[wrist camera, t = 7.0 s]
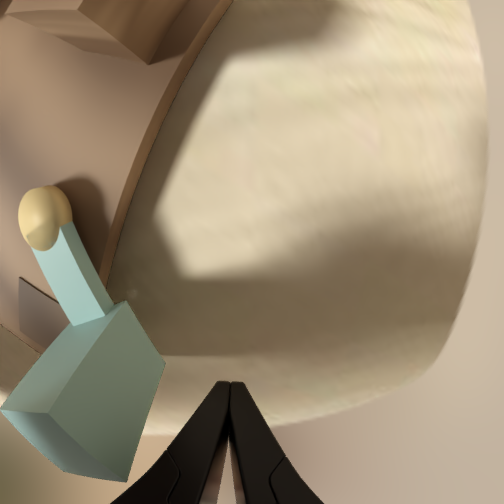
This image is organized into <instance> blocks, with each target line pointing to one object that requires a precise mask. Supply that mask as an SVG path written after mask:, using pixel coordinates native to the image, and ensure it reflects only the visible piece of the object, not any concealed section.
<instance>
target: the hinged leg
mask: <svg viewBox="0 0 504 504" xmlns="http://www.w3.org/2000/svg"><path fill="white" fill-rule="evenodd" d="M18 220H19V226H20V230H21V233H22V235H23V237H24V239H25V240H26V242H27V243H28V244H29V245H30V246H31V248H32V250H33V253H34V255H35V257H36V259H37V261H38V263H39V265H40V268H41V270H42V272H43V274H44V276H45V278H46V280H47V282H48V283H49V285H50V287H51V289H52V291H53V293H54V295H55V296H56V298H57V300H58V302H59V304H60V305H61V307H62V309H63V311H64V312H65V314H66V316H67V317H68V319H69V320H70V324H69V325H68V326H67V327H66V328H65V329H64V330H63V331H62V332H61V333H60V335H59V336H58V337H57V338H56V339H55V340H54V341H53V343H52V344H51V345H50V346H49V347H48V348H47V349H46V351H45V352H44V353H43V354H42V355H41V356H40V358H39V359H38V360H37V361H36V362H35V364H34V365H33V366H32V367H31V369H30V370H29V371H28V372H27V374H26V375H25V376H24V377H23V379H22V380H21V381H20V382H19V384H18V385H17V386H16V387H15V389H14V390H13V391H12V393H11V394H10V395H9V397H8V398H7V399H6V401H5V402H4V403H3V405H2V406H1V408H0V411H1V412H2V413H3V414H4V416H5V417H6V418H7V419H8V420H9V421H10V422H11V423H12V425H13V426H14V427H15V428H16V429H17V430H18V431H19V432H20V433H21V434H22V435H23V436H24V437H25V438H26V439H27V440H28V441H29V442H30V443H31V444H32V445H33V446H35V448H37V449H38V450H39V451H40V452H41V453H42V454H43V455H44V456H45V457H47V458H48V459H49V460H50V461H51V462H53V463H54V464H55V465H56V466H57V467H58V468H60V469H61V470H62V471H64V472H68V473H72V474H77V475H82V476H87V477H92V478H98V479H104V480H112V481H119V482H127V480H128V476H129V473H130V470H131V466H132V463H133V460H134V456H135V453H136V450H137V447H138V444H139V440H140V437H141V434H142V431H143V428H144V425H145V422H146V419H147V416H148V413H149V410H150V407H151V404H152V401H153V398H154V395H155V392H156V390H157V387H158V384H159V381H160V378H161V375H162V373H163V370H164V367H165V364H166V363H165V361H164V360H163V359H162V357H161V356H160V354H159V353H158V351H157V350H156V348H155V347H154V345H153V343H152V342H151V340H150V339H149V337H148V336H147V334H146V332H145V331H144V329H143V328H142V326H141V324H140V323H139V321H138V319H137V318H136V316H135V314H134V313H133V311H132V309H131V307H130V306H129V304H128V302H127V301H123V302H120V303H118V304H115V305H114V303H113V302H112V300H111V298H110V296H109V295H108V293H107V291H106V289H105V287H104V286H103V284H102V282H101V280H100V278H99V276H98V274H97V272H96V270H95V268H94V266H93V264H92V262H91V260H90V258H89V256H88V254H87V252H86V250H85V248H84V246H83V244H82V242H81V239H80V237H79V235H78V233H77V230H76V228H75V226H74V224H73V221H72V220H73V217H72V209H71V205H70V202H69V200H68V198H67V197H66V195H65V194H64V192H63V191H62V190H60V189H59V188H58V187H56V186H52V185H48V186H43V187H39V188H35V189H31V190H29V191H28V192H27V193H26V194H25V195H24V196H23V198H22V200H21V202H20V205H19V211H18Z"/></svg>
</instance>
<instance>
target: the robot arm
mask: <svg viewBox="0 0 504 504" xmlns="http://www.w3.org/2000/svg"><path fill="white" fill-rule="evenodd" d="M228 440H229V448H230V456H231V465H232V473H233V482H234V489H235V497H236V504H324V503H323V502H322V501H321V500H320V499H319V498H318V497H317V496H316V495H315V493H314V492H313V491H312V490H311V489H310V488H309V487H308V485H307V484H306V483H305V482H304V481H303V480H302V478H301V477H300V476H299V474H298V473H297V471H296V470H295V468H294V467H293V466H292V464H291V462H290V461H289V459H288V458H287V457H286V455H285V453H284V452H283V450H282V448H281V446H280V445H279V443H278V442H277V440H276V438H275V437H274V435H273V433H272V432H271V430H270V428H269V426H268V425H267V423H266V421H265V419H264V418H263V416H262V414H261V412H260V411H259V409H258V407H257V405H256V404H255V402H254V400H253V398H252V396H251V394H250V393H249V391H248V389H247V387H246V385H245V384H244V383H243V382H234V381H233V382H231V383H230V382H229V381H217V382H216V384H215V385H214V386H213V388H212V389H211V391H210V392H209V393H208V395H207V396H206V397H205V399H204V400H203V402H202V403H201V404H200V406H199V407H198V408H197V410H196V411H195V412H194V414H193V415H192V416H191V418H190V419H189V420H188V422H187V423H186V424H185V426H184V427H183V428H182V429H181V431H180V432H179V433H178V435H177V436H176V437H175V439H174V440H173V441H172V442H171V444H170V445H169V446H168V448H167V450H165V451H164V452H163V454H162V455H161V456H160V457H159V459H158V460H157V461H156V462H155V463H154V464H153V466H152V467H151V468H150V469H149V470H148V471H147V472H146V473H145V474H144V475H143V476H142V477H141V478H140V479H139V480H138V481H136V482H135V483H134V484H133V485H132V486H131V487H129V488H128V489H127V490H126V491H125V492H124V493H122V494H121V495H120V496H119V497H118V498H116V499H115V500H114V501H113V502H112V503H110V504H217V499H218V494H219V489H220V484H221V478H222V473H223V468H224V463H225V457H226V453H227V447H228Z"/></svg>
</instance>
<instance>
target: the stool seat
mask: <svg viewBox="0 0 504 504" xmlns="http://www.w3.org/2000/svg"><path fill="white" fill-rule="evenodd" d="M232 2H233V0H0V324H1V325H3V326H4V327H5V328H6V329H8V330H9V331H10V332H11V333H13V334H14V335H15V336H17V337H18V338H19V339H21V340H22V341H23V342H25V343H26V344H27V345H29V346H30V347H32V348H33V349H34V350H36V351H37V352H39V353H40V354H43V353H44V352H45V351H46V349H47V348H48V347H49V346H50V345H51V344H52V343H53V341H54V340H55V339H56V338H57V337H58V336H59V335H60V333H61V332H62V331H63V330H64V329H65V328H66V327H67V326H68V325H69V324H70V320H69V319H68V317H67V316H66V314H65V312H64V311H63V309H62V307H61V305H60V304H59V302H58V300H57V298H56V296H55V295H54V293H53V291H52V289H51V287H50V285H49V283H48V282H47V280H46V278H45V276H44V274H43V272H42V270H41V268H40V265H39V263H38V261H37V259H36V257H35V255H34V253H33V250H32V248H31V246H30V245H29V244H28V243H27V242H26V240H25V239H24V237H23V235H22V233H21V230H20V226H19V220H18V211H19V205H20V202H21V200H22V198H23V196H24V195H25V194H26V193H27V192H28V191H29V190H31V189H35V188H39V187H43V186H48V185H52V186H56V187H58V188H59V189H60V190H62V191H63V192H64V194H65V195H66V197H67V198H68V200H69V202H70V205H71V209H72V217H73V220H72V221H73V224H74V226H75V228H76V230H77V233H78V235H79V237H80V239H81V242H82V244H83V246H84V248H85V250H86V252H87V254H88V256H89V258H90V260H91V262H92V264H93V266H94V268H95V270H96V272H97V274H98V276H99V278H100V280H101V282H102V284H103V286H104V287H105V289H106V285H107V281H108V277H109V273H110V269H111V265H112V261H113V258H114V254H115V250H116V247H117V243H118V240H119V237H120V233H121V230H122V227H123V224H124V220H125V217H126V214H127V211H128V208H129V205H130V202H131V199H132V197H133V194H134V191H135V188H136V185H137V183H138V180H139V177H140V175H141V172H142V170H143V167H144V165H145V162H146V160H147V157H148V155H149V152H150V150H151V148H152V145H153V143H154V141H155V138H156V136H157V134H158V131H159V129H160V127H161V125H162V123H163V120H164V118H165V116H166V114H167V112H168V110H169V108H170V106H171V104H172V102H173V100H174V98H175V96H176V94H177V92H178V90H179V88H180V86H181V84H182V82H183V80H184V79H185V77H186V75H187V73H188V71H189V70H190V68H191V66H192V64H193V62H194V61H195V59H196V57H197V56H198V54H199V52H200V50H201V49H202V47H203V45H204V44H205V42H206V41H207V39H208V37H209V36H210V34H211V33H212V31H213V30H214V28H215V26H216V25H217V23H218V22H219V20H220V19H221V17H222V16H223V15H224V13H225V12H226V10H227V9H228V7H229V6H230V5H231V3H232Z"/></svg>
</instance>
